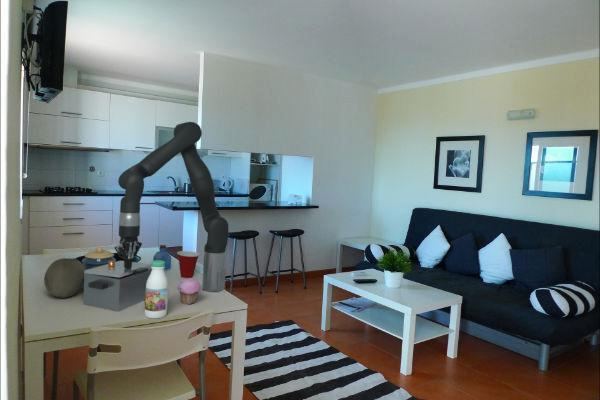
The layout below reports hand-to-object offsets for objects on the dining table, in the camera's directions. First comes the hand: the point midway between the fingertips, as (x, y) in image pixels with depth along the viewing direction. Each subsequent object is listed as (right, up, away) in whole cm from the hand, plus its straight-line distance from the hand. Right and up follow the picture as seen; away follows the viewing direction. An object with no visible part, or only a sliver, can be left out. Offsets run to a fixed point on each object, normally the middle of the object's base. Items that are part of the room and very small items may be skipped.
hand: (127, 268), depth 160 cm
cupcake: (+22, -15, +6) cm, 27 cm away
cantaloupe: (-26, -12, +3) cm, 29 cm away
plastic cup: (+11, -11, +42) cm, 45 cm away
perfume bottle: (-5, -9, +54) cm, 55 cm away
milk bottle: (+14, -16, -10) cm, 23 cm away
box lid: (-2, -1, +1) cm, 3 cm away
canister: (-20, -11, +16) cm, 28 cm away
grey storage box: (-5, -13, +1) cm, 14 cm away
